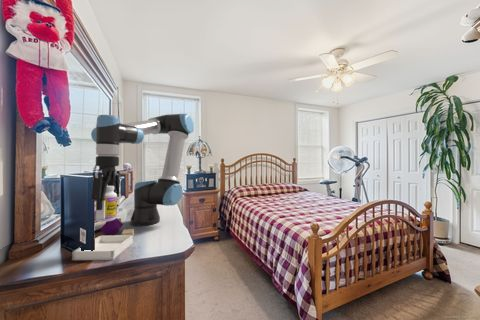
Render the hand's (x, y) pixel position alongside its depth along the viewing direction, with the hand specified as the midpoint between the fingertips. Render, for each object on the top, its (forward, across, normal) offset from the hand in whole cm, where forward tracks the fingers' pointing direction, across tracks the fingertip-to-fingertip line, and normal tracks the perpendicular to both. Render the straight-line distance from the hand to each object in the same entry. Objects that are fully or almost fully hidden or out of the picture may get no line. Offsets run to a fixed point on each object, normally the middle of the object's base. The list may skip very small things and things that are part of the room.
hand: (106, 215), depth 80 cm
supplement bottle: (+2, 0, 0) cm, 2 cm away
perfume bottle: (+13, -19, -8) cm, 25 cm away
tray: (+13, 0, 0) cm, 13 cm away
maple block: (+13, -11, +3) cm, 18 cm away
